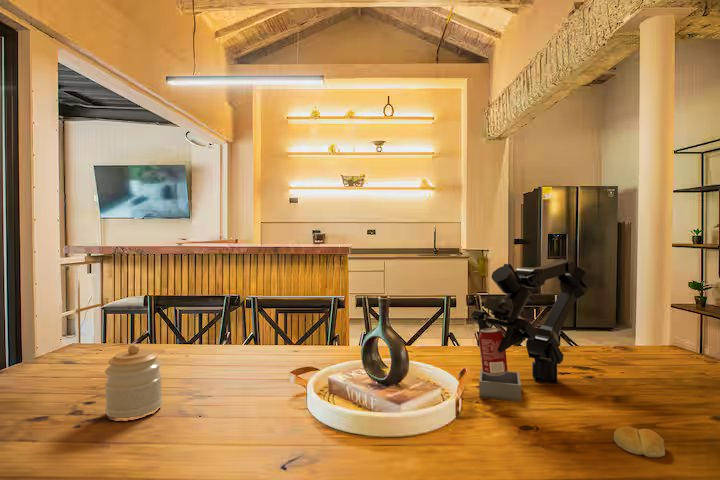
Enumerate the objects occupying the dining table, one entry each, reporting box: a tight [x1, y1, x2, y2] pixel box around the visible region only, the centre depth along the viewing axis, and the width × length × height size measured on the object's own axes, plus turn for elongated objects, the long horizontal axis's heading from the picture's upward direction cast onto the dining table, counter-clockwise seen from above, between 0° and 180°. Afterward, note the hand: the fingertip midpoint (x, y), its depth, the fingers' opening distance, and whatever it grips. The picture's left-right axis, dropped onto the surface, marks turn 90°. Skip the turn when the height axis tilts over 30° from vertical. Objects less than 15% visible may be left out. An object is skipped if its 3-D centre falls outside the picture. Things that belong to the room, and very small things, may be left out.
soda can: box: [478, 327, 509, 376], centre depth 113 cm, size 7×7×12 cm
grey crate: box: [478, 368, 522, 403], centre depth 117 cm, size 11×11×4 cm
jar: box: [104, 343, 163, 418], centre depth 107 cm, size 13×13×18 cm
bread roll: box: [613, 425, 666, 458], centre depth 87 cm, size 8×9×4 cm
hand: (488, 348), depth 113 cm, fingers closed on soda can, 7 cm apart
